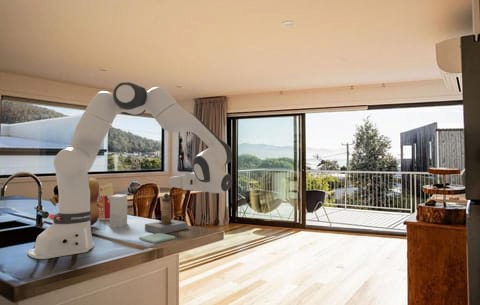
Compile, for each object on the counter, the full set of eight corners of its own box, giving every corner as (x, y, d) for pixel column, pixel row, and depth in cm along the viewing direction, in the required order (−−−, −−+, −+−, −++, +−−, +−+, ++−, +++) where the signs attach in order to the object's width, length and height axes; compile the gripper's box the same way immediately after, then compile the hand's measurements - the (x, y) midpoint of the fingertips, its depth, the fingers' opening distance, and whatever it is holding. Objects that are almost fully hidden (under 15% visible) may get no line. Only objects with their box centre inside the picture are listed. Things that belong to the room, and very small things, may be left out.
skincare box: (115, 223, 181) (115, 194, 182) (128, 223, 181) (128, 194, 181) (109, 227, 173) (109, 196, 173) (122, 227, 173) (122, 196, 173)
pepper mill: (165, 231, 165) (165, 194, 165) (159, 229, 168) (159, 193, 168) (173, 229, 168) (173, 193, 168) (167, 228, 171) (167, 192, 171)
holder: (160, 234, 158) (160, 227, 158) (144, 230, 166) (144, 224, 166) (187, 228, 170) (187, 222, 170) (171, 225, 178) (171, 219, 178)
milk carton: (112, 216, 203) (112, 182, 203) (118, 218, 196) (118, 183, 196) (96, 218, 197) (96, 183, 197) (101, 220, 190) (101, 184, 190)
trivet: (154, 243, 142) (154, 241, 142) (138, 239, 149) (138, 237, 149) (175, 238, 150) (175, 236, 150) (160, 234, 157) (160, 232, 157)
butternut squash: (97, 229, 167) (98, 178, 167) (67, 231, 163) (67, 178, 163) (100, 224, 180) (100, 176, 180) (71, 225, 176) (72, 176, 176)
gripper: (217, 172, 155) (196, 171, 164) (181, 174, 139) (160, 173, 148) (217, 186, 155) (196, 185, 164) (181, 190, 139) (160, 188, 148)
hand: (179, 179), depth 156 cm, fingers open, 8 cm apart
